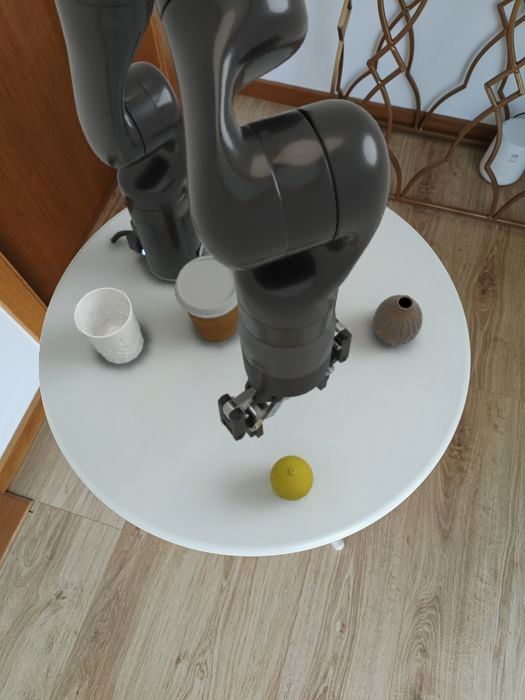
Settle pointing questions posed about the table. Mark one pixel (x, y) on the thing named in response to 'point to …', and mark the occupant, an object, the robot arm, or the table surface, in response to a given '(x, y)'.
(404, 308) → the vase
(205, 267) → the disposable coffee cup
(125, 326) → the white cup
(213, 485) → the table surface
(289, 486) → the lemon
